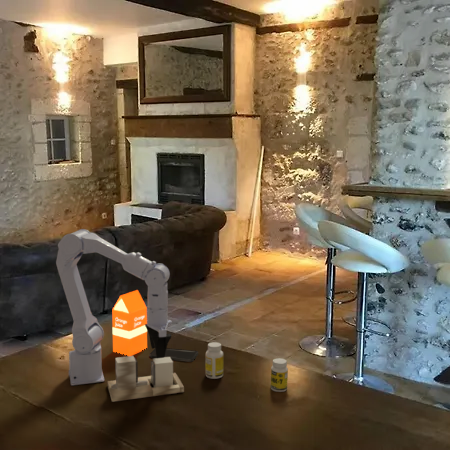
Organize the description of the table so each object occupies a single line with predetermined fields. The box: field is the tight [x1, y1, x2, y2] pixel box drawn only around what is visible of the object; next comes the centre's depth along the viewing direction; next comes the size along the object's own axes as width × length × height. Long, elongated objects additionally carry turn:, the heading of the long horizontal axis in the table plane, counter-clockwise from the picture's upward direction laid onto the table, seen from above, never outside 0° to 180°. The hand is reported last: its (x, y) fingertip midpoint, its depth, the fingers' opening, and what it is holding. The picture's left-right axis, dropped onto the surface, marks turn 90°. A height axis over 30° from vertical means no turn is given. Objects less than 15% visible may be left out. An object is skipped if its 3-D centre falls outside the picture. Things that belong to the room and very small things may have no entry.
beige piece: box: [107, 355, 185, 402], centre depth 154 cm, size 20×10×10 cm, turn 109°
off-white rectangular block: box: [150, 357, 174, 388], centre depth 156 cm, size 6×4×8 cm
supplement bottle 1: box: [205, 341, 224, 380], centre depth 164 cm, size 5×5×10 cm
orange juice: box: [111, 289, 148, 357], centre depth 183 cm, size 8×9×20 cm
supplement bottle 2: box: [270, 357, 289, 393], centre depth 155 cm, size 5×5×8 cm
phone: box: [149, 347, 199, 363], centre depth 180 cm, size 8×1×15 cm
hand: (157, 352), depth 157 cm, fingers open, 7 cm apart
